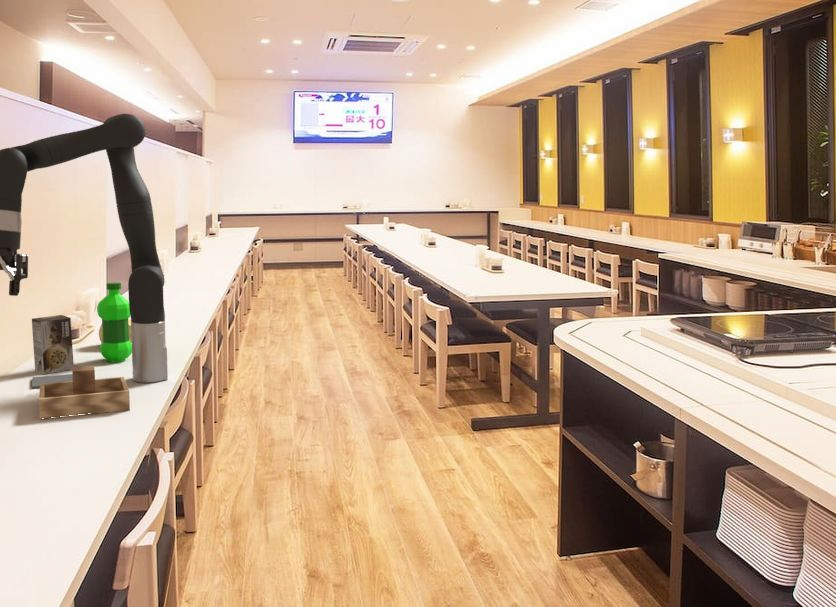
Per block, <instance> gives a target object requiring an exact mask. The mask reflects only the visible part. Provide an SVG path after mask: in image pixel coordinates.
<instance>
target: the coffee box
mask: <svg viewBox="0 0 836 607" xmlns="http://www.w3.org/2000/svg"><path fill="white" fill-rule="evenodd" d="M71 318H72V317H68V315H64V314H60V315H59V314H58V315H52V316H51V315H50V316H42V317H41V316H40V317H35V318H31V327H32V329H31V330H32V343H33V344H32V345H33V346H32V347H33V357H34V359H33V360H34V371H35V372H37V373H40V374H42V375H47V374H53V373H57V372H63V371H68V370H69V371H70V370H72V367H75V364H74V353H73V352H74V350H73V337H72V334H73V332H72V319H71Z"/></svg>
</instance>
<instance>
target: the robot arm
mask: <svg viewBox="0 0 836 607" xmlns="http://www.w3.org/2000/svg"><path fill="white" fill-rule="evenodd" d="M145 137H146V126H145V124H144V123H143V121H142V120H141V119H140V118H139V117H137V116H136V115H133V114H130V113H121V114H120V113H119V114H116V115H113V116H110V117H108V118H107V119H106V120H104V122H103V123H102V124H99V125H96V126H93V127H89V128H85V129H81V130H76V131H72V132H66V133H61V134H55V135H52V136H49V137H44V138H41V139H37V140H34V141H31V142H28V143H26V144H22V145H17V146H12V147H6V148H2V149H0V271H4V273H5V274H7V275H8V277H9V279H10V280H9V283H8V284H9V285H8V295H9V296H12V297H17V296H19V293H20V291H21V290H20V289H21V288H20V287H21V281H22V280H25V279H28V277H29V274H28V272H29V255H28V254H24V253H18V250H20V249H21V240H22V239H21V237H22V223H23V222H22V204H23V201H22V200H23V199H22V198H23V196H22V194H23V192H24V189H25V183H26V179H27V174H28V173H29V172H31V171H34V170H39V169H44V168H45V169H46V168H50V167H53V166H54V167H55V166H57V165H61V164H63V163H67V162H69V161H73V160H75V159H79V158H81V157H84V156H88V155H90V154H91V155H92V154H94V153H98V152H101V151H106V152H105V153H106V155H107V159H108V161H109V165H110V170H111V178H112V184H113V190H114V196H115V203H116V209H117V216H118V219H119V223H120V227H121V231H122V233H123V235H124V238H125V241H126V243H127V246H128V249H129V256H130V264H131V266H130V267H131V274H130V275H129V278H128V283H127V286H128V301H129V310H130V315H131V316H130V320H131V338H132V343H131V344H132V353H131V363H132V365H131V366H132V380H133V381H134V382H136V383H156V382H161V381H162V382H163V381H167V380H168V379H169V377H168V372H169V371H168V348H167V346H166V344H167V342H166V320H165V319H166V313H165V307H164V304H165V303H164V301H165V300H164V286H165V276H164V273H163V269H162V266H161V263H160V259H159V254H158V250H157V244H156V230H155V229H156V228H155V218H154V210H153V205H152V199H151V195H150V192H149V189H148V187H147V185H146V183H145V181H144V179H143V177H142V176H141V173H140V172H139V169H138V167H137V166H138V165H137V162H136V155H135V147H138V145H140V144H141V143H142V142H143V141H144V139H145Z"/></svg>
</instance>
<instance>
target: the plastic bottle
mask: <svg viewBox="0 0 836 607" xmlns="http://www.w3.org/2000/svg"><path fill="white" fill-rule="evenodd" d="M121 289H122V283H121V282H107V283H106V290H107V291H108V294H107V295H106V296H104V297H103V298H102V299H101V300H100V301H99V302H98V303H97V306H96V312H97V316H99V318H100V319H101V324H102V334H103V341H102V343H101V342H100V346H99V353H100V354H101V355H102V357H103V358H104V359H105V360H106V361H108V362H110V363H119V362H125V361H126V359H128V358H129V357H130V356H132V343H131V342H130V341H129V323H128V319H130V318H131V315H130V310H129V299H127V298H125V297H124V296H123V295H122V294H120V290H121Z"/></svg>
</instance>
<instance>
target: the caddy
mask: <svg viewBox="0 0 836 607" xmlns="http://www.w3.org/2000/svg"><path fill="white" fill-rule="evenodd" d="M95 391H96V393H92V394H81V395H73V381H68V382H56V383H44V384H40V388H39V392H38V394H39V395H38V405H39V406H38V407H39V420H40V419H42V418H51V417H60V416H69V415H78V414H88V413H100V414H103V413H102V412H109V413H113V412H112V411H119V412H125V410H129V411H130V410H131V409H130V408H131V406H130V404H131V403H130V401H131V400H130V390H129V387H128V383H127V381H126V378H125V377H124V376H117V377H116V376H115V377H106V378H104V377H103V378H95ZM42 420H43V419H42Z"/></svg>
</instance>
